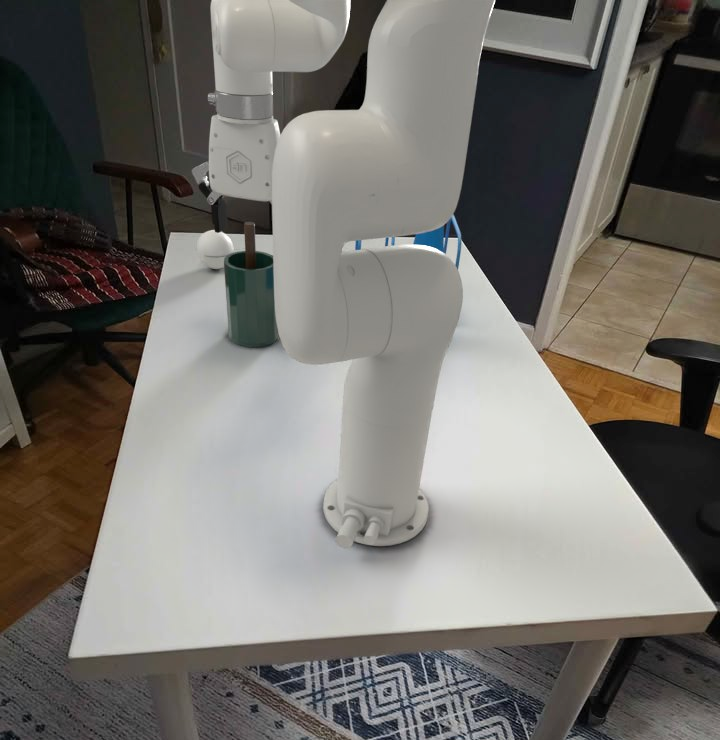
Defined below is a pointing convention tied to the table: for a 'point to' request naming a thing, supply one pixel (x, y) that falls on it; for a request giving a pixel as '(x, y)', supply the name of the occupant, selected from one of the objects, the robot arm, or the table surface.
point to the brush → (250, 245)
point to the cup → (250, 300)
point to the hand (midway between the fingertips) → (250, 235)
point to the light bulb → (214, 249)
